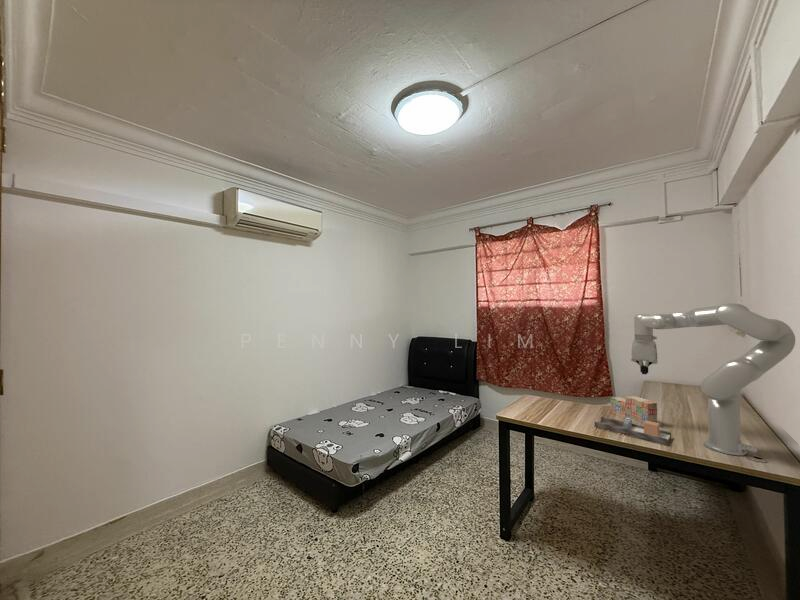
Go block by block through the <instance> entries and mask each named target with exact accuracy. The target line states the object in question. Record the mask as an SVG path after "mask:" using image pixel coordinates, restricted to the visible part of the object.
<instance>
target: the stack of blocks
mask: <svg viewBox="0 0 800 600" xmlns="http://www.w3.org/2000/svg"><path fill="white" fill-rule="evenodd" d="M611 411H613V412H615V413H618V414H621V415H624V416H626V417H628V418H630V419H633V420H635V421H637V422H639V423H641V424H643V425H642V426H644V422H645V421H646V420H647V421H652V422H656V423H658V402H656V401H655V402H654V401H652V400H650V399H646V398H641V397H639V396H635V395H632V396H631V395H630V396H625V398H623V397H620V396H614V397H610V412H611ZM641 424H640V425H641Z"/></svg>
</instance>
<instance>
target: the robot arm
mask: <svg viewBox="0 0 800 600" xmlns="http://www.w3.org/2000/svg"><path fill="white" fill-rule="evenodd" d="M633 320H634V322H633V324H634V325H633V326H634V327H633V329H634V332H633V333H634V340H632V345H631V360H630V362H634V363H636V364H637V365H639V366H640V367H639V368H640V373H641V374H642V375H648V373H649V366H651V365H655V364H658V362H659V361H658V349H657V348H658V347H657V342H656V341H654V340H657V339H658V338H657V337H658V336H655V335H654V330H670V329H671V330H672V329H681V328H682V329H683V328H692V327H693V328H694V327H695V328H701V327H702V328H703V327H713V326H725V325H726V326H728V327H730V328H733V329H734V330H735V331H736V330H737V331H739V332H741V333H743V334H745V335H747V336H749V337H751V338H753V339H755V340H758V341H759V342H758V343H757V344H756V345H754V346H753V347H752V348H751V349H749V350H748V351H746V352H745V353H744V354H743V355H741V356H739V357H738V358H735V359H733V360H729V361H727V362H725V363H724V364H722V365H721V366H720V367H718V368H717V369H716V370H715V371H713V372H712V373H710V374H709V375H708V376H707V377H706V378H705V379H703V380H702V381H701V383H700V391H701V392H702V394H703V395H704V396H705V397H707V398H708V400H707V408H708V409H707V416H708V417H707V418H708V419H707V421H708V424H707V425H708V439H706V440H704V441H703V445H704V446H705V447H706V448H708V449H710V450H712V451H715V452H718V453H721V454H727V455H733V456H745V455H746V456H747V452H751V453H755V454H758V448H757V447H753V445H750V444H749V445H747V444H745V443H743V441H742V440H741V400H742V399H741V397H742V389H744V388H745V387H747V386H748V385H750V384H751V383H753V382H755V381H758V380H759V379H760V378H761V377H762V376H763V375H764V374H766V373H767V372H768V371H770V370H771V369H772V368H774V367H775V366H777V365H778V364H779V363H780V362H782V361H783V360H784V359H786V358H787V357H788V356H790V354H791V353H792V352H793V349H794V348H795V346H796V336H795V333H794V331H793V330H792V328H791V327H790V326H789V325H788V323H785V322H784V321H783V320H780V319H773V318H767V317H764V316H762V315H760V314H758V313H755V312H753V311H751V310H750V309H749V308H748V307H747V306H746V305H743V304H741V303H724V304H722V305H721V304H720V305H715V306H714V305H713V306H707V307H706V306H704V307H697V308H693V309H691V310H688V311H684V312H683V311H682V312H681V311H680V312H675V313H666V314H665V313H661V314H660V313H659V314H658V313H657V314H645V313H643V314H640V313H639V314H635V315H634V317H633ZM644 361H645V364H644Z"/></svg>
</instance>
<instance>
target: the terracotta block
mask: <svg viewBox="0 0 800 600" xmlns="http://www.w3.org/2000/svg"><path fill="white" fill-rule="evenodd" d="M643 426H644V433H645V434H649V435H654V436H659V434H660V430H661V429H660V428H661V427H660V422H657V423H656V422H652V421H647V420H646V421H645V422H644V425H643Z"/></svg>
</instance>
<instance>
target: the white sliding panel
mask: <svg viewBox="0 0 800 600" xmlns="http://www.w3.org/2000/svg"><path fill="white" fill-rule="evenodd" d="M623 422H624V428H625V429H629V430H633V431H637V432H641V433H644V429H641V428H637V427H633V426H632V424H633V421H632V420H631V419H625V421H623ZM658 437H662V438H666V439H667V442H668V440H669V438H670V435H667V434H663V433H660V434H659V436H658Z"/></svg>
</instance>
